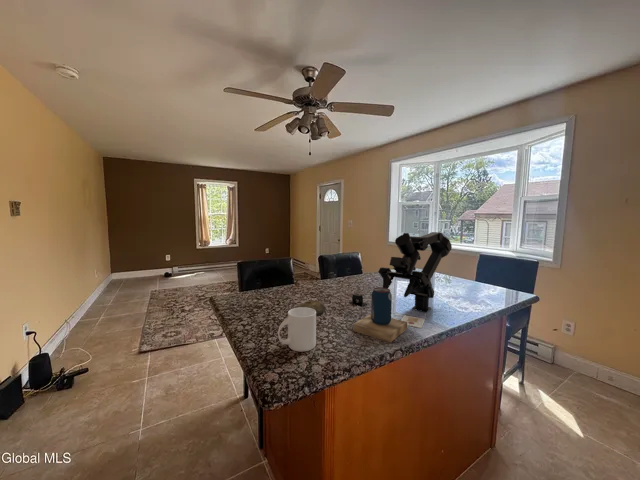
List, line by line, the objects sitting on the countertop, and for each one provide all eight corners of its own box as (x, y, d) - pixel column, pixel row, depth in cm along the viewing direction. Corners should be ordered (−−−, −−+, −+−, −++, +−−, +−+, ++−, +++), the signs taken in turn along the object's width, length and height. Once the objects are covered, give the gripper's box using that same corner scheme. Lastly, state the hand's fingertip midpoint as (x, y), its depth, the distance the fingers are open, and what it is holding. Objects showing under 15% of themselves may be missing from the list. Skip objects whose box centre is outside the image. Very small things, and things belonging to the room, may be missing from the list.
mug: (273, 344, 81) (273, 311, 80) (309, 337, 86) (309, 305, 85) (282, 357, 73) (282, 320, 72) (320, 348, 78) (320, 313, 78)
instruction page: (404, 315, 106) (404, 315, 106) (425, 319, 102) (425, 318, 102) (398, 323, 98) (398, 323, 98) (421, 328, 94) (421, 327, 94)
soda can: (395, 322, 92) (395, 289, 91) (383, 328, 87) (383, 293, 87) (378, 317, 97) (379, 285, 96) (367, 322, 93) (367, 288, 92)
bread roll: (313, 319, 103) (313, 307, 103) (290, 312, 110) (290, 301, 110) (331, 310, 113) (331, 299, 113) (309, 305, 121) (309, 294, 120)
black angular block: (372, 305, 121) (372, 296, 120) (362, 309, 116) (362, 299, 116) (352, 299, 130) (352, 290, 130) (342, 302, 125) (342, 293, 125)
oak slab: (372, 319, 102) (372, 313, 102) (407, 328, 93) (407, 321, 93) (353, 330, 91) (353, 323, 91) (390, 342, 82) (390, 334, 82)
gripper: (380, 247, 107) (364, 278, 101) (423, 250, 93) (408, 286, 86) (391, 264, 113) (376, 294, 106) (434, 268, 99) (420, 303, 92)
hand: (393, 294), depth 98 cm, fingers open, 9 cm apart
